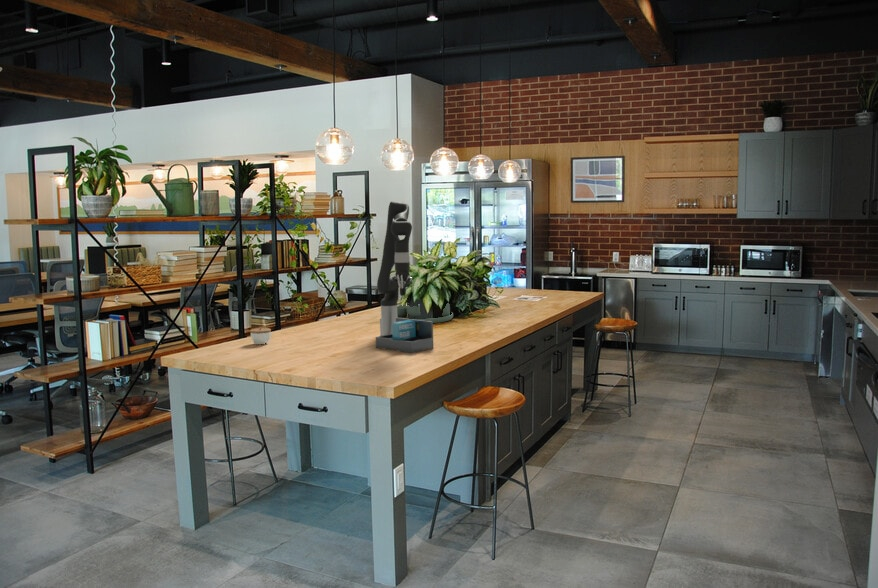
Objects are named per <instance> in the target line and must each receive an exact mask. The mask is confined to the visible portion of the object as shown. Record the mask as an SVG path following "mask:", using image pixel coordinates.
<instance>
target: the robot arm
mask: <svg viewBox="0 0 878 588" xmlns="http://www.w3.org/2000/svg"><path fill="white" fill-rule="evenodd" d="M409 214H410V206H409V204H408V203H406V202H400V201H394V200H392V201H390V202H389V205H388V210H387V220H386V221H387V223H386V231H385V236H384V243H383V249H382V250H383V251H382V258H381V264H380V270H379V272H378V273H379V274H378V276H377V277H378V278H377V283H376V286H377V291H378V292H379V294H384V295H385V296H384V297H383V298H382V299H381V300H380V318H379V327H380V328H379V329H380V330H379V331H380V334H379V335H380V336H384V335H389V334H392V324H393V323H394V322H396V318H398V312H397V306H398V302H399V301H398V300H399V294H400V296H402V297H403V296H406V294H407V292H406V291H407V288H410V285H411V284H412V282H413V280H414V278H413V277H411V276H410V275H411V274H410V270H411V263H410V262H411V261H410V238H411V234H412V230H413V225H412V223H411V222H410V221H408V219H409ZM399 236H401V237H402V236H404V238H403V239H401V238H400V237H399ZM393 268H394V271H395V275H394V276H393V275H391V272H392V269H393Z"/></svg>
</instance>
